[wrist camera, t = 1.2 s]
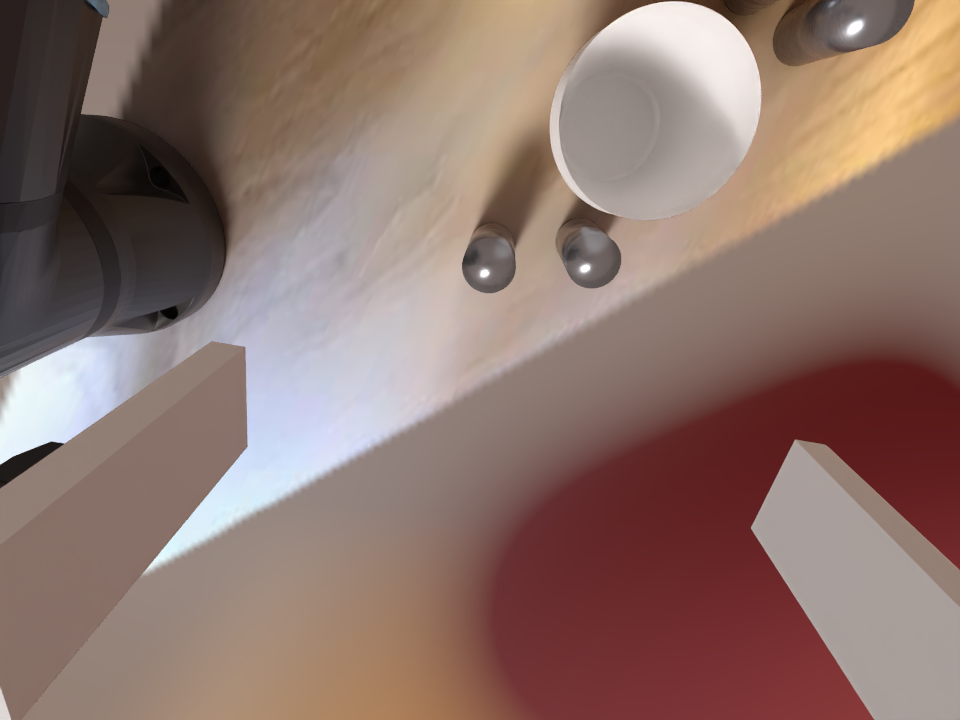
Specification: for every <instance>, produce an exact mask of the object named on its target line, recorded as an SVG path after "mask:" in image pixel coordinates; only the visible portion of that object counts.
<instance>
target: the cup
mask: <svg viewBox="0 0 960 720" xmlns="http://www.w3.org/2000/svg"><path fill="white" fill-rule="evenodd" d="M760 107H761V84H760V77H759V72H758V68H757V64H756V61H755V58H754V56H753V53H752V51H751V49H750V47H749V45H748V43H747V42H746V40H745V39H744V37H743V36H742V34H741V33H740V32H739V31H738V30H737V28H736V27H735V26H734V25H733V24H732V23H730V22H729V21H728V20H727V19H726V18H724V17H723V16H722V15H720V14H718V13H717V12H715V11H713V10H711V9H709V8H706V7H704V6H701V5H697V4H694V3H688V2H680V1H669V2H659V3H654V4H649V5H646V6H643V7H640V8H638V9H635V10H633V11H631V12H629V13H627V14H625V15H623V16H621V17H620V18H618V19H617V20H615V21H614V22H612V23H611V24H609V25H608V26H607V27H605V28H604V29H602V30H601V31H600V32H598V33H597V34H595V35H594V36H593V37H592V38H591V39H589V40H588V41H587V42H586V43H585V44H584V45H583V46H582V47H581V48H580V50H579V51H578V52H577V53H576V55H575V56H574V57H573V59H572V60H571V61H570V63H569V64H568V66H567V68H566V69H565V71H564V73H563V75H562V77H561V79H560V82H559V84H558V86H557V89H556V92H555V95H554V99H553V103H552V108H551V114H550V141H551V147H552V152H553V155H554V159H555V162H556V164H557V167H558V169H559V171H560V173H561V175H562V177H563V178H564V180H565V181H566V183H567V184H568V186H569V187H570V188H571V189H572V191H573V192H574V193H575V194H576V195H577V196H578V197H580V198H581V199H582V200H583V201H585V202H586V203H587V204H589V205H591V206H592V207H594V208H596V209H598V210H600V211H603V212H606V213H609V214H613V215H617V216H620V217H623V218H628V219H633V220H659V219H665V218H669V217H673V216H676V215H679V214H682V213H684V212H687V211H689V210H691V209H693V208H695V207H696V206H698V205H700V204H702V203H703V202H705V201H706V200H707V199H709V198H710V197H711V196H713V195H714V194H715V193H716V192H717V191H719V190H720V189H721V188H722V187H723V186H724V185H725V184H726V183H727V181H728V180H729V179H730V178H731V177H732V176H733V174H734V173H735V172H736V170H737V169H738V167H739V166H740V164H741V163H742V161H743V159H744V158H745V156H746V154H747V152H748V150H749V148H750V145H751V143H752V141H753V138H754V135H755V132H756V129H757V125H758V120H759V115H760Z"/></svg>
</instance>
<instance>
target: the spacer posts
mask: <svg viewBox="0 0 960 720" xmlns="http://www.w3.org/2000/svg"><path fill="white" fill-rule="evenodd" d="M777 1H778V0H724V2H725V4H726V6H727V7H728V8H729V9H730V10H731V11H732V12H734V13H736V14H739V15H750V14H753V13H756V12H758V11H760V10H761V9H763V8H765V7H767V6H769V5H771V4H773V3H775V2H777ZM914 1H915V0H810V1H808V2H806V3H804V4H802V5H800V6H798V7H796V8H794V9H792V10H790V11H789V12H788V13H787V14H786V15H785V16H784V17H783V18H782V19H781V21H780V22H779V24H778V26H777V28H776V30H775V33H774V37H773V48H774V52H775V55H776V57H777V58H778V59H779V60H780V61H781V62H782V63H784V64H786V65H788V66H800V65H804V64H807V63H811V62H815V61H819V60H822V59H826V58H830V57H834V56H837V55H841V54H845V53H848V52H852V51H856V50H860V49H863V48H867V47H871V46H874V45H878V44H881V43H883V42H885V41H887V40H889V39H890V38H892V37H893V36H894V35H896V34H897V33H898V32H899V31H900V30H901V29H902V27H903V26H904V25H905V23H906V22H907V20H908V18H909V16H910V14H911V12H912V9H913V6H914ZM556 248H557V251H558V253H559V255H560V257H561V259H562V261H563V263H564V266H565V268H566V270H567V272H568V274H569V276H570V277H571V279H572V280H573V281H574V282H575V283H576V284H578V285H580V286H582V287H585V288H598V287H602V286H604V285H606V284H608V283H609V282H610V281H611V280H613V278H614V277H615V276H616V275H617V273H618V271H619V268H620V265H621V253H620V250H619V248H618V246H617V245H616V243H615V242H614V241H613V240H612V239H611V238H610V237H608V236H607V235H606V234H605V233H604V232H603V231H602V230H601V229H600V228H599V227H597V226H596V225H595V224H594V223H593V222H592V221H590V220H588V219H585V218H575V219H571V220H569V221H567V222H566V223H565V224H563V225H562V227H561V228H560V229H559V231H558V233H557V236H556ZM515 269H516V263H515V249H514V240H513V237H512V235H511V233H510V231H509V230H508V229H507V228H506V227H504V226H503V225H500V224H497V223H487V224H484V225H482V226H480V227H479V228H477V229H476V230H475V232H474V233H473V235H472V237H471V240H470V242H469V245H468V248H467V250H466V253H465V256H464V258H463V262H462V270H463V275H464V277H465V279H466V281H467V282H468V283H469V285H470V286H471V287H473V288H474V289H476V290H478V291H480V292H484V293H494V292H498V291H500V290H502V289H504V288H505V287H507V286H508V285H509V283H510V282H511V281H512V279H513V277H514V274H515Z"/></svg>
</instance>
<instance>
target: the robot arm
mask: <svg viewBox="0 0 960 720" xmlns="http://www.w3.org/2000/svg"><path fill="white" fill-rule="evenodd" d="M108 14H109V5H108V3H107V1H106V0H0V378H1V377H3V376H5V375H8V374H10V373H12V372H14V371H16V370H18V369H20V368H22V367H24V366H26V365H29V364H31V363H33V362H35V361H37V360H39V359H41V358H43V357H45V356H47V355H50V354H52V353H54V352H56V351H58V350H60V349H63V348H65V347H67V346H69V345H71V344H73V343H75V342H77V341H79V340H82V339H84V338H86V337H98V336H113V335H129V334H143V333H149V332H154V331H157V330H161V329H164V328H167V327H169V326H171V325H173V324H175V323H177V322H179V321H181V320H183V319H185V318H186V317H188V316H190V315H192V314H193V313H195V312H196V311H198V310H199V309H200V308H201V307H202V306H203V305H204V304H205V303H206V302H207V301H208V300H209V299H210V297H211V296H212V294H213V293H214V291H215V289H216V287H217V285H218V283H219V280H220V278H221V274H222V271H223V265H224V257H225V244H224V234H223V229H222V224H221V221H220V217H219V214H218V211H217V208H216V206H215V204H214V201H213V199H212V197H211V195H210V193H209V191H208V190H207V188H206V186H205V185H204V183H203V181H202V180H201V178H200V177H199V176H198V174H197V173H196V172H195V170H194V169H193V168H192V167H191V165H190V164H189V163H188V162H187V161H186V160H185V159H184V158H183V157H182V156H181V155H180V154H179V153H178V152H177V151H176V150H175V149H174V148H172V147H171V146H170V145H169V144H168V143H166V142H165V141H163V140H162V139H161V138H159V137H158V136H156V135H155V134H153V133H151V132H149V131H148V130H146V129H144V128H142V127H140V126H138V125H135V124H133V123H130V122H128V121H124V120H121V119H117V118H113V117H108V116H99V115H84V114H81V110H82V105H83V101H84V96H85V92H86V87H87V83H88V79H89V75H90V70H91V66H92V61H93V57H94V53H95V48H96V43H97V39H98V35H99V31H100V26H101V22H102V18H103V17H105V18H107V17H108ZM246 448H247V404H246V359H245V347H242V346H236V345H230V344H225V343H219V342H213V341H212V342H210V343H209V344H207V345H206V346H205V347H203V348H202V349H200V350H199V351H197V352H196V353H194V354H193V355H192V356H190V357H189V358H187V359H186V360H184V361H183V362H182V363H180V364H179V365H177V366H176V367H174V368H173V369H171V370H170V371H169V372H167V373H166V374H164V375H163V376H161V377H160V378H159V379H157V380H156V381H154V382H153V383H151V384H150V385H148V386H147V387H146V388H144V389H143V390H141V391H140V392H138V393H137V394H136V395H134V396H133V397H131V398H130V399H128V400H127V401H125V402H124V403H123V404H121V405H120V406H118V407H117V408H115V409H114V410H113V411H111V412H110V413H108V414H107V415H105V416H104V417H102V418H101V419H100V420H98V421H97V422H95V423H94V424H92V425H91V426H90V427H88V428H87V429H85V430H84V431H82V432H81V433H79V434H78V435H77V436H75V437H74V438H72V439H71V440H69V441H68V442H67V443H65V444H63V443H57V442H49V443H46V444H44V445H41V446H39V447H36V448H34V449H31V450H29V451H26V452H24V453H21V454H19V455H16V456H14V457H12V458H10V459H9V460H7V461H6V462H4V463H2V464H1V465H0V720H22V718H23V717H24V716H25V715H26V713H27V712H28V711H29V710H30V709H31V708H32V706H33V705H34V704H35V703H36V702H37V700H38V699H39V698H40V697H41V695H42V694H43V693H44V692H45V691H46V689H47V688H48V687H49V686H50V685H51V683H52V682H53V681H54V680H55V679H56V677H57V676H58V675H59V674H60V673H61V671H62V670H63V669H64V668H65V666H66V665H67V664H68V663H69V662H70V660H71V659H72V658H73V657H74V656H75V654H76V653H77V652H78V651H79V650H80V648H81V647H82V646H83V645H84V643H85V642H86V641H87V640H88V639H89V637H90V636H91V635H92V634H93V633H94V631H95V630H96V629H97V627H99V625H100V624H101V623H102V622H103V621H104V619H105V618H106V617H107V616H108V615H109V613H110V612H111V611H112V610H113V608H114V607H115V606H116V605H117V604H118V602H119V601H120V600H121V599H122V597H123V596H124V595H125V594H126V593H127V592H128V590H129V589H130V588H131V587H132V585H133V584H134V583H135V582H136V581H137V579H138V578H139V577H140V576H141V575H142V573H143V572H144V571H145V570H146V569H147V567H148V566H149V565H150V564H151V563H152V561H153V560H154V559H155V558H156V557H157V555H158V554H159V553H160V552H161V550H162V549H163V548H164V547H165V546H166V544H167V543H168V542H169V541H170V540H171V538H172V537H173V536H174V535H175V534H176V532H177V531H178V530H179V529H180V528H181V526H182V525H183V524H184V523H185V521H186V520H187V519H188V518H189V517H190V515H191V514H192V513H193V512H194V511H195V509H196V508H197V507H198V506H199V505H200V503H201V502H202V501H203V500H204V498H205V497H206V496H207V495H208V494H209V492H210V491H211V490H212V489H213V488H214V486H215V485H216V484H217V483H218V482H219V480H220V479H221V478H222V477H223V476H224V474H225V473H226V472H227V471H228V469H229V468H230V467H231V466H232V465H233V463H234V462H235V461H236V460H237V459H238V457H239V456H240V455H241V454H242V453H243V451H244V450H245V449H246ZM751 529H752V531H753V532H754V534H755V535H756V537H757V538H758V540H759V541H760V543H761V545H762V546H763V548H764V549H765V551H766V553H767V554H768V556H769V557H770V559H771V560H772V562H773V563H774V565H775V566H776V568H777V569H778V571H779V572H780V574H781V576H782V577H783V579H784V580H785V582H786V583H787V585H788V587H789V588H790V590H791V591H792V593H793V594H794V596H795V597H796V599H797V601H798V602H799V604H800V605H801V607H802V608H803V610H804V611H805V613H806V614H807V616H808V618H809V619H810V621H811V622H812V624H813V625H814V627H815V629H816V630H817V631H818V633H819V635H820V636H821V638H822V639H823V641H824V642H825V644H826V646H827V647H828V649H829V650H830V652H831V653H832V655H833V656H834V658H835V660H836V661H837V663H838V664H839V666H840V667H841V669H842V670H843V672H844V673H845V675H846V677H847V678H848V680H849V681H850V683H851V684H852V686H853V687H854V689H855V690H856V692H857V694H858V695H859V697H860V698H861V700H862V701H863V703H864V704H865V706H866V708H867V709H868V711H869V712H870V714H871V715H872V717H873V718H874V720H960V570H959V569H958V568H957V567H956V566H955V565H953V564H952V563H951V562H950V561H949V560H948V559H947V558H946V557H945V556H944V555H943V554H942V553H941V552H940V551H939V550H938V549H936V548H935V547H934V546H933V545H932V544H931V543H930V542H929V541H928V540H927V539H926V538H925V537H924V536H922V534H920V533H919V532H918V531H917V530H916V529H915V528H914V527H913V526H912V525H911V524H910V523H909V522H908V521H907V520H906V519H904V518H903V517H902V516H901V515H900V514H899V513H898V512H897V511H896V510H895V509H893V507H892V506H891V505H889V504H888V503H887V502H886V501H885V500H884V499H883V498H882V497H881V496H880V495H879V494H877V492H875V491H874V490H873V489H872V488H871V487H870V486H869V485H868V484H867V483H866V482H865V481H864V480H863V479H861V477H860V476H859V475H857V474H856V473H855V472H854V471H853V470H852V469H851V468H849V466H848V465H847V464H846V463H845V462H844V461H842V460H841V459H840V458H839V457H838V456H837V455H836V454H835V453H834V452H833V451H832V450H831V449H830V448H828V446H826V445H823V444H817V443H811V442H805V441H800V440H795V441H794V443H793V445H792V447H791V449H790V451H789V453H788V455H787V457H786V459H785V461H784V463H783V465H782V467H781V469H780V471H779V473H778V475H777V477H776V479H775V481H774V483H773V485H772V487H771V489H770V491H769V493H768V495H767V497H766V499H765V501H764V503H763V505H762V507H761V509H760V511H759V513H758V515H757V517H756V519H755V521H754V523H753V525H752V527H751Z"/></svg>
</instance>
